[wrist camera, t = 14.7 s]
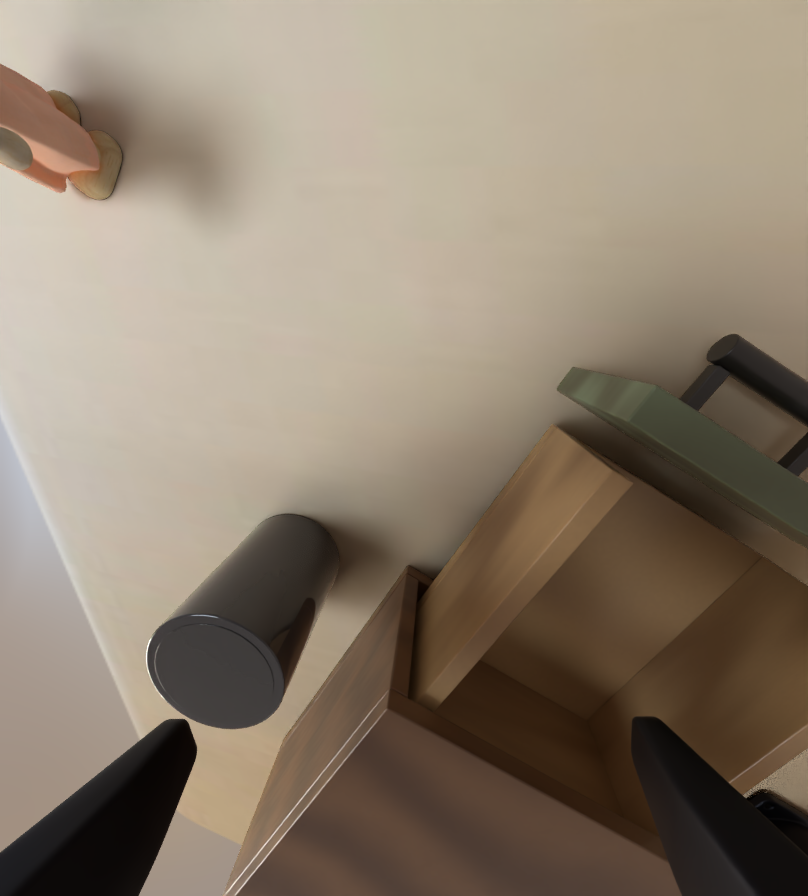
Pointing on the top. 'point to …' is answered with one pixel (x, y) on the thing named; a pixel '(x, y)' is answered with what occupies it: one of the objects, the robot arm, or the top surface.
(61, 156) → the grandmother figurine
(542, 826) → the cabinet
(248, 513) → the top surface
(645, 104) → the top surface
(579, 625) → the drawer
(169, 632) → the cup
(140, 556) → the top surface
